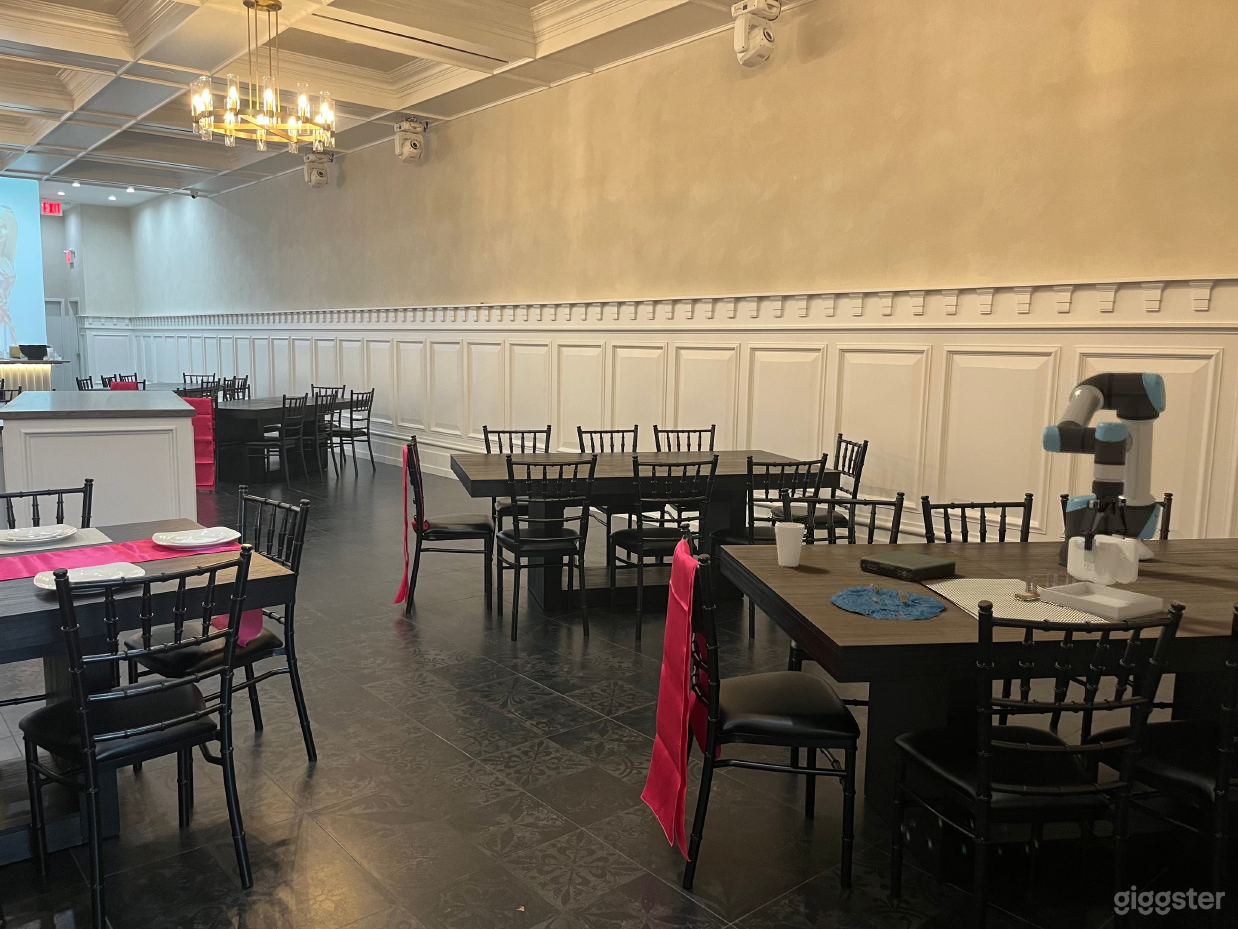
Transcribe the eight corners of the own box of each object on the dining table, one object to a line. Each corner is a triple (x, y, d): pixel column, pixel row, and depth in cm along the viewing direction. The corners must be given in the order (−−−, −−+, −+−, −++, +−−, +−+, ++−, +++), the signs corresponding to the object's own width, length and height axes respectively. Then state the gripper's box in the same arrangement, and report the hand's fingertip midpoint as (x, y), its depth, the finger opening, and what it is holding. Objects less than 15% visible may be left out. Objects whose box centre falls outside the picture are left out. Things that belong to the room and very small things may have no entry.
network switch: (959, 574, 285) (960, 559, 285) (924, 586, 269) (924, 569, 268) (891, 563, 302) (892, 548, 301) (854, 573, 286) (854, 557, 285)
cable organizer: (1140, 586, 240) (1143, 543, 239) (1109, 588, 237) (1112, 544, 235) (1094, 574, 254) (1097, 533, 253) (1064, 576, 251) (1066, 534, 250)
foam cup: (792, 560, 301) (793, 521, 300) (809, 566, 293) (810, 526, 292) (768, 562, 297) (769, 523, 296) (785, 568, 289) (786, 528, 288)
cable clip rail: (1076, 588, 267) (1078, 568, 266) (1086, 590, 264) (1087, 570, 264) (1014, 599, 253) (1015, 577, 252) (1023, 601, 250) (1025, 580, 250)
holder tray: (1084, 593, 261) (1085, 581, 260) (1161, 611, 242) (1162, 598, 241) (1039, 601, 251) (1040, 589, 250) (1116, 620, 232) (1117, 607, 231)
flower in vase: (1145, 563, 305) (1150, 489, 302) (1109, 557, 314) (1114, 485, 311) (1161, 558, 313) (1166, 486, 310) (1126, 553, 322) (1131, 483, 319)
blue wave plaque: (970, 624, 233) (972, 604, 233) (862, 627, 227) (864, 607, 226) (910, 592, 262) (912, 574, 261) (813, 594, 256) (814, 576, 255)
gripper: (1121, 476, 252) (1115, 554, 254) (1067, 480, 240) (1062, 561, 242) (1148, 479, 245) (1142, 559, 247) (1094, 483, 234) (1088, 567, 236)
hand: (1102, 560), depth 245 cm, fingers closed on cable organizer, 11 cm apart
